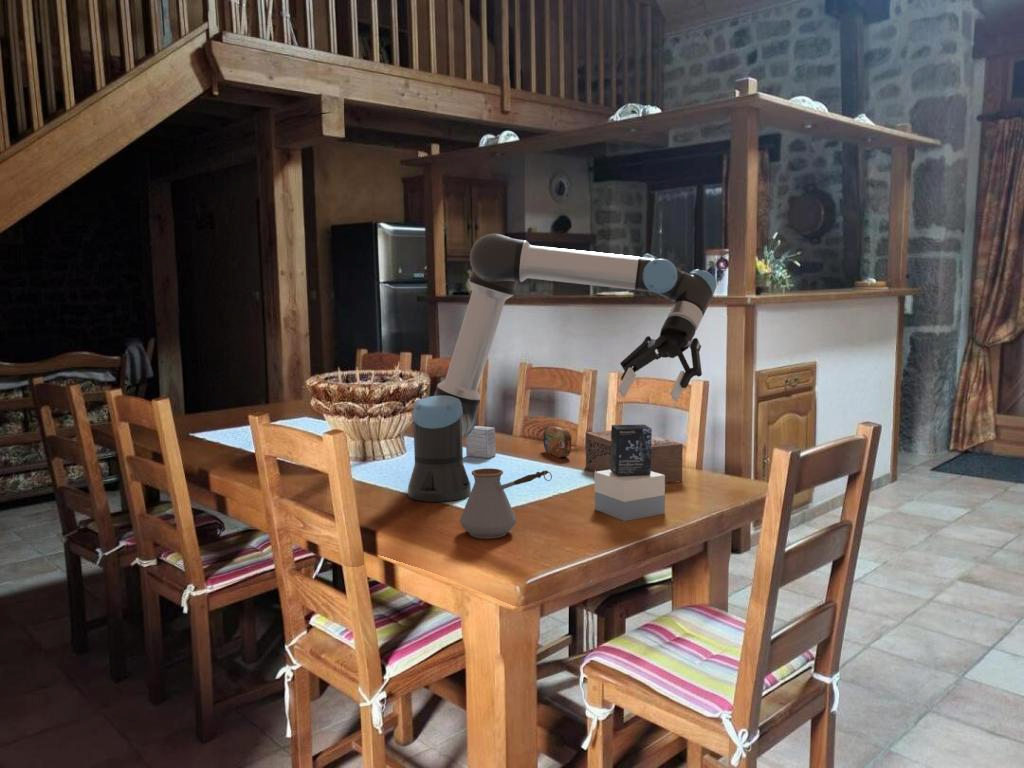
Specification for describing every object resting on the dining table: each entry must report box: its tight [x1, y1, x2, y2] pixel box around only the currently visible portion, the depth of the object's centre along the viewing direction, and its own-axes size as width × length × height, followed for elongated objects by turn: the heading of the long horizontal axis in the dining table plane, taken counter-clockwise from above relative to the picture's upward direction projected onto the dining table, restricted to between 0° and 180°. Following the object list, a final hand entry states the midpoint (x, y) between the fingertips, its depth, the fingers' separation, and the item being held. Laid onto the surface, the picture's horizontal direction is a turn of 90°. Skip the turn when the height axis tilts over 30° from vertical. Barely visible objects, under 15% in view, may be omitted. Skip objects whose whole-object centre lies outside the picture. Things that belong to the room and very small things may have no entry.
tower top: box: [594, 470, 666, 502], centre depth 186 cm, size 11×11×4 cm
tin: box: [542, 425, 572, 458], centre depth 249 cm, size 15×3×8 cm, turn 22°
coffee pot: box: [459, 467, 553, 539], centre depth 167 cm, size 21×12×15 cm, turn 52°
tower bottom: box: [594, 491, 666, 522], centre depth 186 cm, size 11×11×4 cm
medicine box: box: [465, 425, 497, 459], centre depth 249 cm, size 8×4×9 cm, turn 58°
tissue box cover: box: [585, 429, 684, 484], centre depth 223 cm, size 26×14×10 cm, turn 22°
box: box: [610, 423, 653, 476], centre depth 185 cm, size 8×6×11 cm
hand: (646, 395), depth 188 cm, fingers open, 13 cm apart
